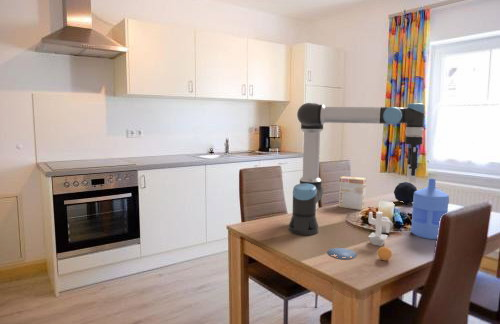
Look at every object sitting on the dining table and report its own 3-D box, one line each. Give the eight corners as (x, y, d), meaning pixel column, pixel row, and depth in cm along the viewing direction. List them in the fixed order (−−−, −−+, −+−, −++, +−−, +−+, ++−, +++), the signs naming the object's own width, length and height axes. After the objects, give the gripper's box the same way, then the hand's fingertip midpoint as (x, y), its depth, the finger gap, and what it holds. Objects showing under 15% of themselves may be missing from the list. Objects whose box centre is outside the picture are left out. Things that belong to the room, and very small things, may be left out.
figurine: (386, 248, 156) (388, 215, 154) (365, 243, 162) (366, 212, 160) (390, 243, 163) (392, 211, 160) (369, 239, 168) (371, 208, 166)
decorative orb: (391, 191, 248) (394, 176, 238) (414, 192, 244) (418, 178, 234) (393, 207, 238) (395, 193, 228) (417, 208, 234) (421, 194, 224)
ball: (376, 261, 142) (377, 248, 142) (377, 256, 147) (378, 243, 147) (391, 263, 140) (392, 250, 140) (391, 258, 145) (392, 245, 145)
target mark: (325, 256, 147) (325, 256, 147) (329, 246, 158) (329, 246, 158) (355, 261, 142) (355, 260, 142) (357, 250, 153) (357, 250, 153)
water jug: (411, 227, 185) (414, 175, 181) (445, 232, 178) (449, 178, 175) (410, 236, 171) (414, 180, 168) (446, 242, 165) (451, 183, 161)
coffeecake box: (364, 207, 224) (366, 177, 221) (361, 210, 218) (363, 179, 215) (341, 204, 232) (343, 175, 229) (338, 206, 226) (339, 177, 223)
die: (390, 237, 172) (398, 220, 174) (374, 228, 173) (383, 211, 175) (383, 237, 180) (391, 221, 182) (368, 228, 181) (377, 212, 183)
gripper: (426, 137, 154) (422, 185, 157) (419, 134, 177) (416, 176, 180) (407, 137, 157) (404, 184, 160) (403, 134, 180) (400, 175, 183)
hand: (410, 179), depth 170 cm, fingers open, 13 cm apart
